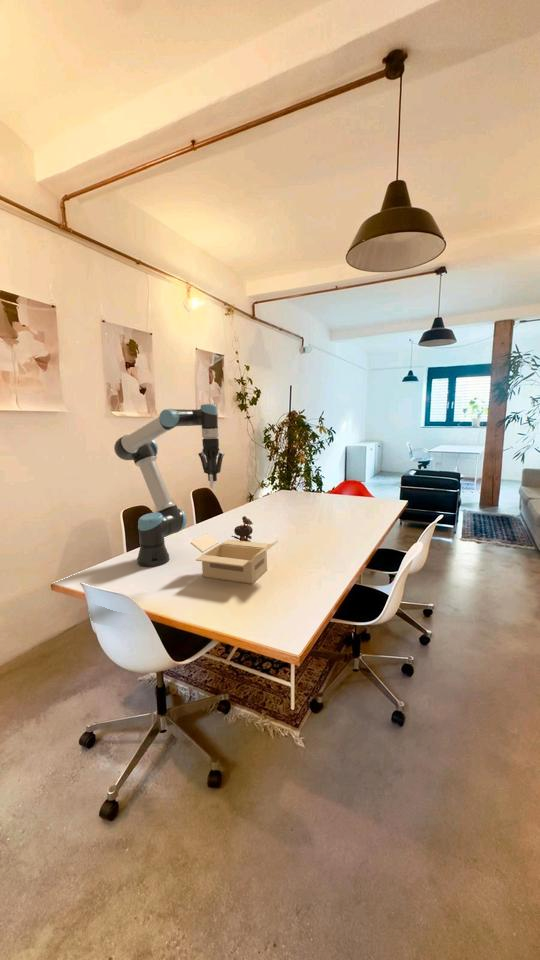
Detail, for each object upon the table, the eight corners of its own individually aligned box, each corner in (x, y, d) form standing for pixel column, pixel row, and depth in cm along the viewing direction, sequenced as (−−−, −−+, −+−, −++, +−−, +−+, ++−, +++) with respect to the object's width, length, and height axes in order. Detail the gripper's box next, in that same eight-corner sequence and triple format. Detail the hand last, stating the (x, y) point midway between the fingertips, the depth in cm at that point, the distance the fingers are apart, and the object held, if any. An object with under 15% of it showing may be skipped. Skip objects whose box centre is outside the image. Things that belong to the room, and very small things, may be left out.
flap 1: (202, 552, 166) (190, 543, 168) (218, 543, 179) (207, 534, 181) (202, 551, 166) (191, 542, 168) (218, 542, 179) (207, 533, 181)
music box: (262, 553, 196) (259, 516, 191) (248, 561, 187) (244, 522, 183) (240, 547, 205) (237, 512, 201) (226, 555, 197) (222, 518, 192)
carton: (195, 582, 161) (193, 559, 160) (227, 559, 187) (226, 539, 186) (246, 590, 152) (245, 565, 151) (272, 565, 178) (271, 544, 177)
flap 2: (252, 557, 157) (265, 550, 155) (265, 547, 170) (277, 540, 167) (252, 558, 157) (265, 551, 155) (266, 548, 170) (278, 541, 167)
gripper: (194, 438, 176) (196, 488, 180) (218, 438, 171) (221, 489, 175) (202, 437, 183) (205, 486, 186) (226, 437, 178) (228, 487, 181)
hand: (212, 487), depth 180 cm, fingers closed
